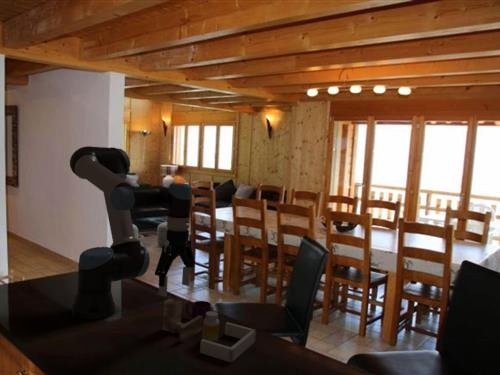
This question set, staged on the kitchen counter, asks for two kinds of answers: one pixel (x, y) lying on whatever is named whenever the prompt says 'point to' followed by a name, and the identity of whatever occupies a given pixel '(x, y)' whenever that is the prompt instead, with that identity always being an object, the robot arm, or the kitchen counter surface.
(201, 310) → the mug
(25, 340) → the kitchen counter surface
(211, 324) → the supplement bottle
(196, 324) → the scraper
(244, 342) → the corral
